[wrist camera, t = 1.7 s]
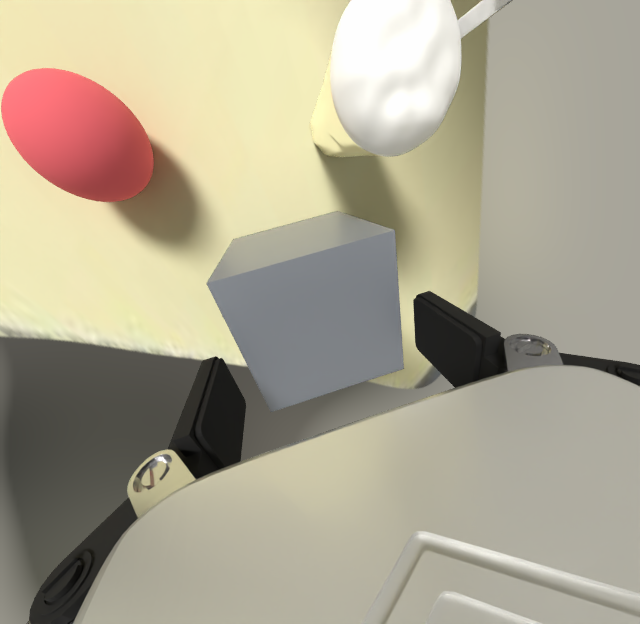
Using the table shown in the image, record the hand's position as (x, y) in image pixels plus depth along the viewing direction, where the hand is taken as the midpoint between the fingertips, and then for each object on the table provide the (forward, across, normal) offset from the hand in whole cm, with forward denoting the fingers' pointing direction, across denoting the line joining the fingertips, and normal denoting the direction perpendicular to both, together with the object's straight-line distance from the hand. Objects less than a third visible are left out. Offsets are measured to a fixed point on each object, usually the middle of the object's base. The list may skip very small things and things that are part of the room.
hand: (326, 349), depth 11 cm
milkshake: (+9, -5, -10) cm, 14 cm away
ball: (+6, +8, -11) cm, 15 cm away
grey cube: (+9, 0, -1) cm, 9 cm away
